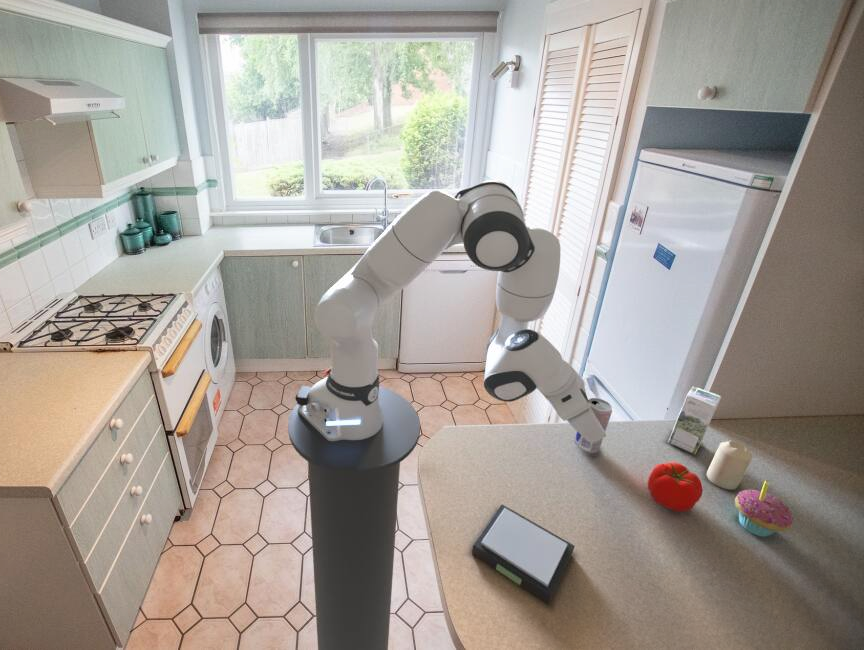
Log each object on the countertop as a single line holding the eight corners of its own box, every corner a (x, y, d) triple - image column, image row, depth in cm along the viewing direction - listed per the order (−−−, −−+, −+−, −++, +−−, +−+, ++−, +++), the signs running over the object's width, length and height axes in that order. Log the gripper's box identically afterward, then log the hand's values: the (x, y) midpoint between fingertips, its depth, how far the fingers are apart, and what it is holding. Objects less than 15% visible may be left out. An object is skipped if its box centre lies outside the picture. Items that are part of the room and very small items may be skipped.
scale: (470, 555, 83) (472, 544, 82) (499, 512, 91) (502, 501, 90) (547, 606, 75) (551, 595, 73) (571, 554, 83) (575, 543, 82)
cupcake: (742, 541, 86) (768, 495, 80) (718, 504, 93) (740, 460, 88) (793, 548, 84) (823, 503, 79) (765, 511, 92) (790, 467, 86)
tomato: (664, 478, 99) (675, 452, 96) (704, 510, 92) (717, 483, 88) (632, 489, 97) (642, 463, 93) (670, 523, 89) (682, 496, 86)
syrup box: (701, 443, 109) (722, 395, 103) (694, 456, 105) (716, 406, 99) (673, 432, 113) (693, 384, 106) (666, 443, 109) (686, 394, 103)
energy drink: (585, 435, 111) (598, 395, 105) (604, 449, 106) (618, 409, 101) (569, 440, 109) (581, 400, 103) (587, 455, 104) (601, 414, 99)
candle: (739, 493, 96) (757, 458, 91) (707, 483, 98) (724, 448, 94) (735, 476, 100) (752, 441, 95) (704, 467, 102) (720, 432, 98)
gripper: (538, 367, 112) (570, 403, 115) (561, 422, 94) (599, 462, 97) (561, 354, 109) (593, 390, 113) (589, 407, 91) (627, 449, 94)
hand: (596, 424), depth 104 cm, fingers closed on energy drink, 5 cm apart
